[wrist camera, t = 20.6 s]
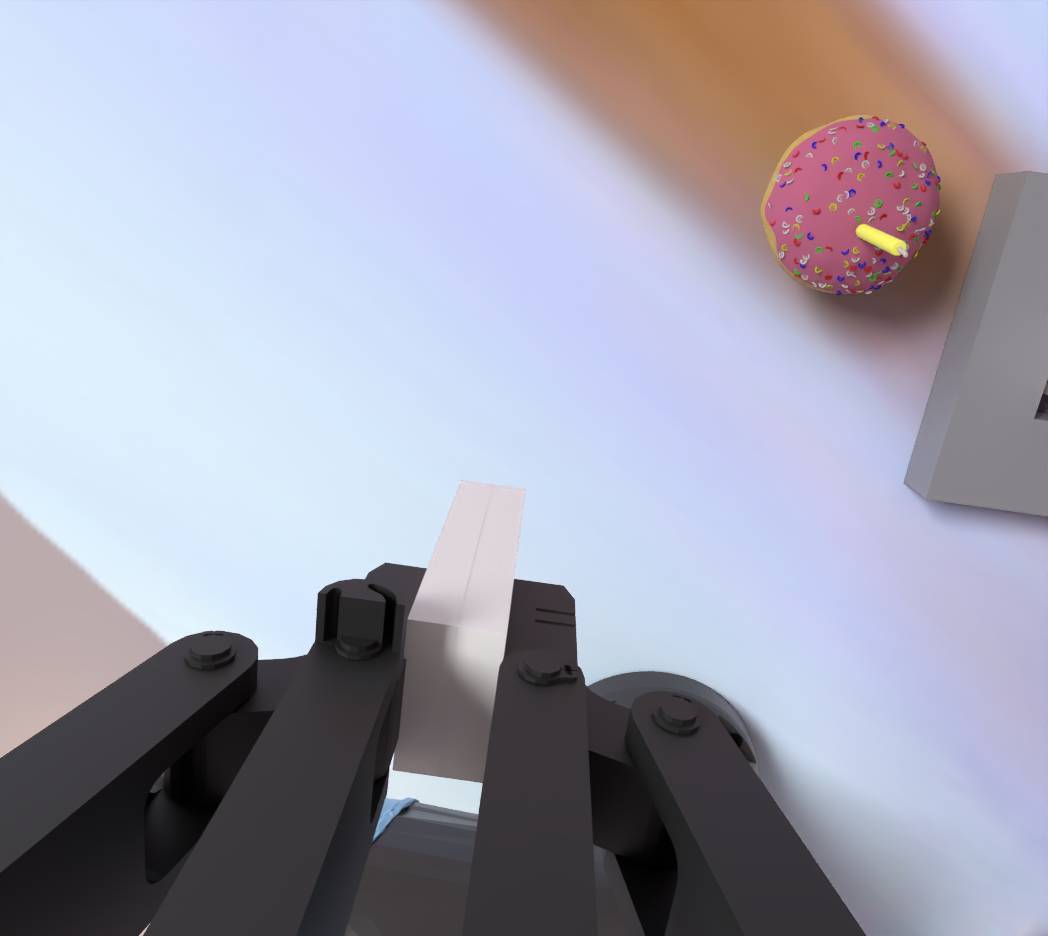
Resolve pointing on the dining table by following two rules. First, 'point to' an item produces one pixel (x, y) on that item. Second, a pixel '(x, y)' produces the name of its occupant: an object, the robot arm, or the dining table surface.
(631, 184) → the dining table surface
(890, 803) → the dining table surface
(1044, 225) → the socket
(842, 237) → the cupcake
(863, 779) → the dining table surface
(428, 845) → the robot arm
